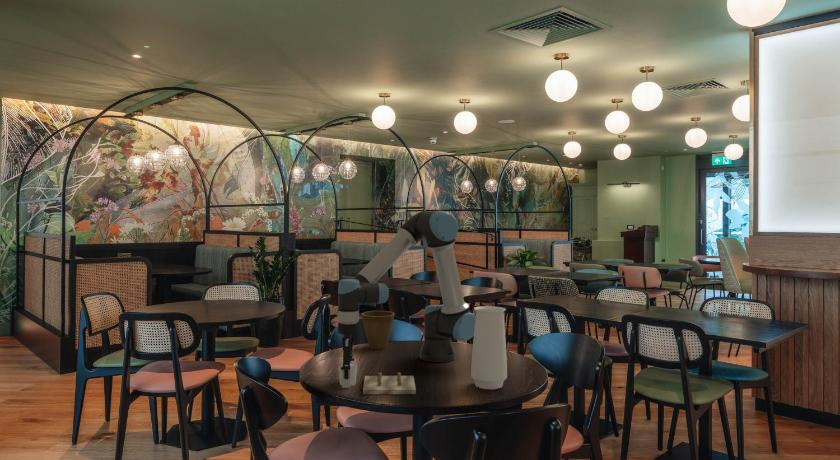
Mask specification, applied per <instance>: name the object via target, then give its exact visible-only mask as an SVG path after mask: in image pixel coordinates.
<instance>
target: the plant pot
mask: <svg viewBox="0 0 840 460" xmlns="http://www.w3.org/2000/svg"><path fill="white" fill-rule="evenodd" d="M361 317H362V323H363V328H364V329H363V330H364V332H365V337H366V340H367V343H368V345H369V347H370V349H373V350H384V349H386V348H387V345H388V343H389V340H390V337H391V334H392V333H391V332H392V329H393V324H394V318H395V312H393V311H387V310H371V311H365V312H362V313H361Z"/></svg>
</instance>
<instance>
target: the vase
mask: <svg viewBox="0 0 840 460" xmlns="http://www.w3.org/2000/svg"><path fill="white" fill-rule="evenodd" d="M473 310H475V316H476V318H475V328H474V336H473V340H472V353H471V364H470V365H471V366H470V368H471V369H470V376H471V379H473V381H474V386H475V387H477V388H478V387H479V389H482V390H497V389H498V388H499V389H501V388H503V386H504V382H505V380H506V379H507V378H508V361H507V344H506V343H507V342H506V328H505V327H506V326H505V313H504V312H505V311H506V310H507V309H506V307H501V306H496V305H495V306H493V305H486V306H485V305H482V306H480V305H479V306H476V307H475V306H474V307H473Z"/></svg>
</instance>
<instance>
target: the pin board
mask: <svg viewBox="0 0 840 460" xmlns="http://www.w3.org/2000/svg"><path fill="white" fill-rule="evenodd" d="M382 373H383V372H377V375H364V381H363V387H362V388H363V389H362V395H416V393H417V391H416V390H417V389H416V388H417V387H416V383H415V377H414V375H402V373H401V372H396V375H382Z"/></svg>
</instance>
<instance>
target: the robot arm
mask: <svg viewBox="0 0 840 460" xmlns="http://www.w3.org/2000/svg"><path fill="white" fill-rule="evenodd" d="M459 229H460V228H459V222H458V220H457V218H456V217H455V216H454V215H453V214H452V213H450V212H449V211H443V210H433V211H432V210H431V211H427V210H425V211H424V210H423V211H419V212H417V213H415V214H413V215H412V216H411V217H410V218H408V219H407V220H406V221H405V222H404V223H403V224H402V225H401V226H400V227H399V228H398V229H397V233H396V234H395V235H394V236H393V238H391V240H390V241H389V242H388V243H387V244H386V245H385V246H384V247H383V248H382V249H381V250H380V251H379V252H378V253H376V255H375V256H374V257H373V258H372V259H371V260H370V261H369V262H368V263H367V264H366V265H365V266H364V267H362V269H361V270H360V271H359V272H358V273H357V274H356V276H355V277H353V278H343V279H341V280H339V281H338V286H337V287H338V288H337V295H338V296H337V302H338V303H337V312H336V314H335V315H336V316H338V317H337V321H338V323H337V334H340V335H343V337H342V339H341V341H342V363H343V367H341V370H343V380H342V385H341V386H342V389H351V386H350V363H353V362H354V361H355V358H354V356H353V347H354V342H355V341H354V339H355V338H354V337H353V335H357V334H358V333H359V330H360V329H359V328H360V327H359V326H360V325H359V321H360V306H363V305H379V304H385V303H386V302H387V301H388V299H389V294H390V293H389V292H390V291H389V288H388V286H387V284H385V283H384V282H383V283H379V282H378V281H379V280H380V279H381V278H382V277H383V276H384V275H385V274H386V272H387V271H388V270H389V269H390V268H392V266H393V265H394V264H395V263H396V262H397V261H398V260H399V259H401V257H402V256H403V255H404V254H405V253H406V252H407V251H408V250H409V249H410V248H411V247H415V246H416V245H417V244H418V243H419V242H421V241H424V240H425V242H426V247H427V249H429V250H431V251H432V257H433V261H434V266H435V270H436V276H437V280H438V281H437V282H438V285H439V290H440V294H441V299H442V303H443V304H433V305H432V304H431V305H426V306H425V308H424V314H423V315H424V318H423V319H424V321H423V322H424V325H423V327H424V331H423V332H424V334H423V335H424V338H423V339H424V340H423V343H422V346H421V349H420V353H419V358H420V360H422V361H426V362H431V363H432V362H433V363H445V362H451V361H454V360H456V352H455V349H454V345H453V343H452V339H453V340H456V341H462V342H465V341H469V340H470V339H472V338H474V328H475V318H476V314H474V313H473V312H471V310H470V305H469V303H467V302H465V300H464V299H465V298H464V293H463V288H462V285H461V279H460V275H459V269H458V265H457V259H456V255H455V251H454V245H455V243H457V242H456V241H457V240H456V238H457V236H458V232H459ZM345 365H348V366H345Z"/></svg>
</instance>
